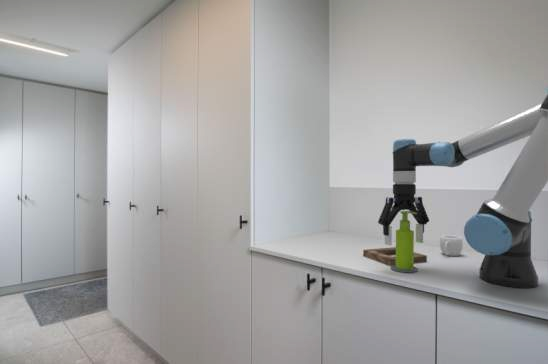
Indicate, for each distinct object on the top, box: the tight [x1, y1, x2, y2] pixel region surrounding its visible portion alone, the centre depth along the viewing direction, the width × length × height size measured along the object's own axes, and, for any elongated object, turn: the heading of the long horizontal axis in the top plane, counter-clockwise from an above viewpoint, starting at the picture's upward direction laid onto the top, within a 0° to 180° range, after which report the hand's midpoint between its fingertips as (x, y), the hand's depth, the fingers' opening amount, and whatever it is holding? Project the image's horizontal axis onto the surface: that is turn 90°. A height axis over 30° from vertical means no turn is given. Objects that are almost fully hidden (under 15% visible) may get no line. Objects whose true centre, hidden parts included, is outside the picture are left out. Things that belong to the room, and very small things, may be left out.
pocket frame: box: [362, 246, 428, 267], centre depth 132 cm, size 17×17×2 cm
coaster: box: [390, 265, 419, 274], centre depth 116 cm, size 9×9×1 cm
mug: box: [439, 234, 464, 257], centre depth 137 cm, size 12×8×8 cm
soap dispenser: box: [395, 210, 417, 270], centre depth 116 cm, size 6×7×20 cm
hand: (404, 243), depth 116 cm, fingers open, 13 cm apart
